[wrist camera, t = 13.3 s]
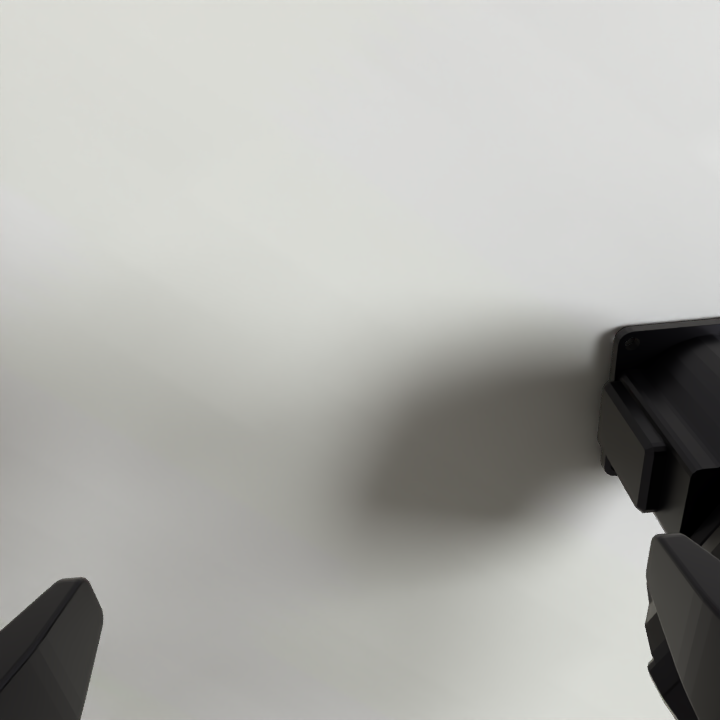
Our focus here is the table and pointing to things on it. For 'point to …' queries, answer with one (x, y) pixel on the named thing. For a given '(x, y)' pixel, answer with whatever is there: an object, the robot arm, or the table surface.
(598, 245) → the table surface
